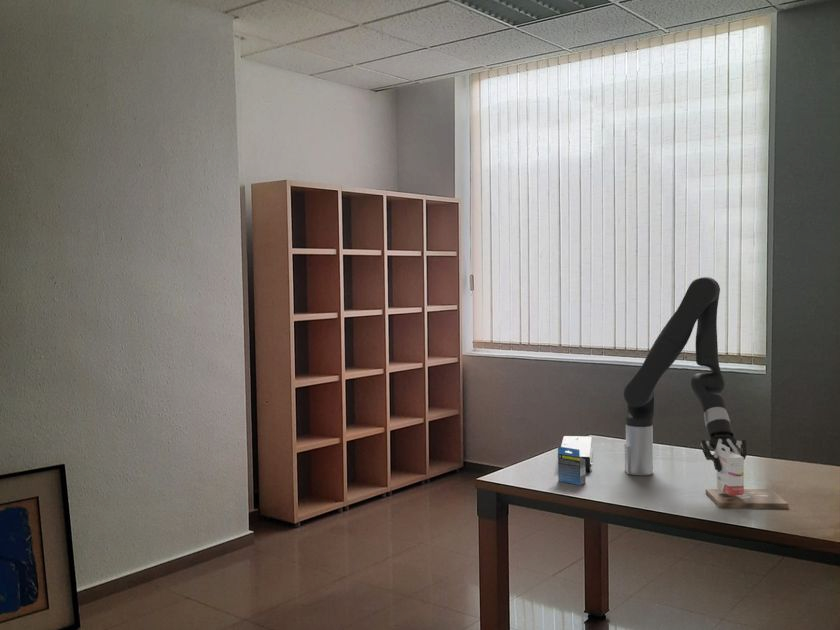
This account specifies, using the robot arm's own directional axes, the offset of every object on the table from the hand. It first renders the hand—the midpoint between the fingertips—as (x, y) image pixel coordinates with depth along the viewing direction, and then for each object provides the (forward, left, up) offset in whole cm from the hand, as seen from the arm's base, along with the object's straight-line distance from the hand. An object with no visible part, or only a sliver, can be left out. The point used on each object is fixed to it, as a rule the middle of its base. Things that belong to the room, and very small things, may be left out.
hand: (729, 470), depth 237 cm
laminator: (-41, +50, -10) cm, 65 cm away
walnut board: (+5, 0, -10) cm, 11 cm away
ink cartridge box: (0, 0, -7) cm, 7 cm away
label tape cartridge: (-46, +20, -10) cm, 51 cm away
